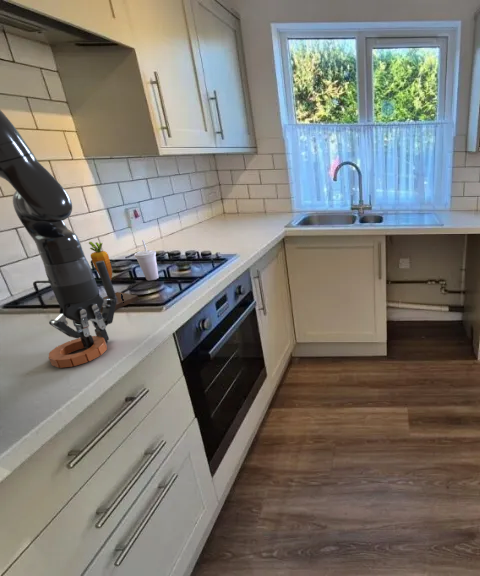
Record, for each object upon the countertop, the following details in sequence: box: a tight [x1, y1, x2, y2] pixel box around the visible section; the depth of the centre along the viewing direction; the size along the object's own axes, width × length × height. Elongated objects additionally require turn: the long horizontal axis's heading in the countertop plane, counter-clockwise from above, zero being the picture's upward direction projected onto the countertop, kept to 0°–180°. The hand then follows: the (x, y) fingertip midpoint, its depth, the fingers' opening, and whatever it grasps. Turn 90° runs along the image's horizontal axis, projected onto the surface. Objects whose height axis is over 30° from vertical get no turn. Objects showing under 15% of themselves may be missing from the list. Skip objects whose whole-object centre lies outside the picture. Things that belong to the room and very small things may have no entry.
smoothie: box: [134, 239, 160, 281], centre depth 125 cm, size 6×6×14 cm
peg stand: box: [96, 261, 139, 311], centre depth 106 cm, size 9×9×14 cm
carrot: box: [88, 241, 113, 281], centre depth 122 cm, size 5×5×15 cm
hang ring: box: [48, 335, 108, 369], centre depth 83 cm, size 10×10×2 cm
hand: (98, 345), depth 86 cm, fingers closed on hang ring, 2 cm apart
